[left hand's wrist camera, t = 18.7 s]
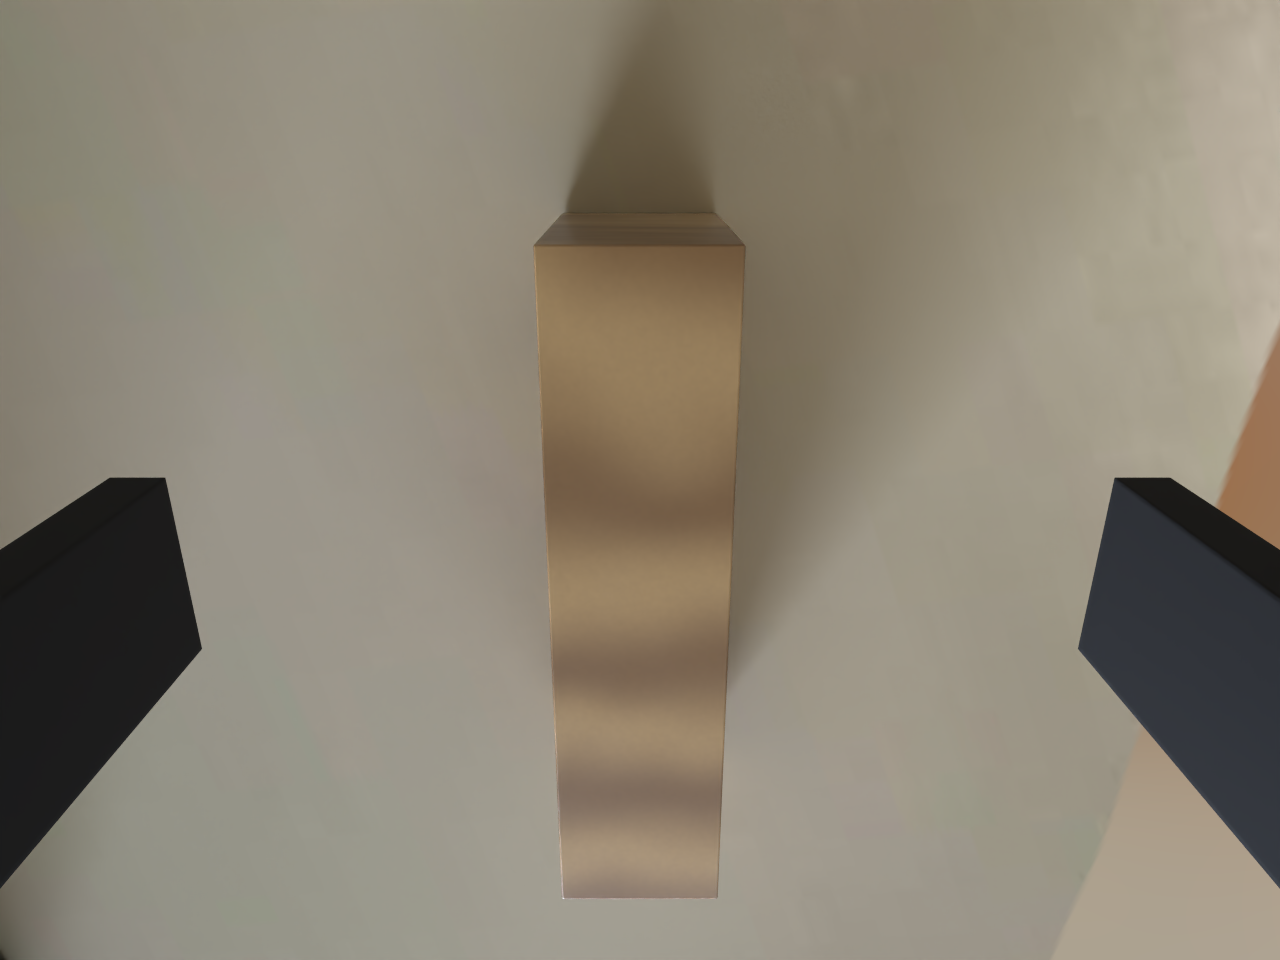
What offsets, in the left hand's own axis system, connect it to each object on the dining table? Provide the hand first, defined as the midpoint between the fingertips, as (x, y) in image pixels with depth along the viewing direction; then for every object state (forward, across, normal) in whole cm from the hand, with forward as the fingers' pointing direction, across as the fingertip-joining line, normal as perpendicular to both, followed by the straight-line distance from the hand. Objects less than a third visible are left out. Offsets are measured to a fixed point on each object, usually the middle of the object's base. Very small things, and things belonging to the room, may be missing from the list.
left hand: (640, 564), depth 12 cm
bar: (+22, 0, -9) cm, 24 cm away
